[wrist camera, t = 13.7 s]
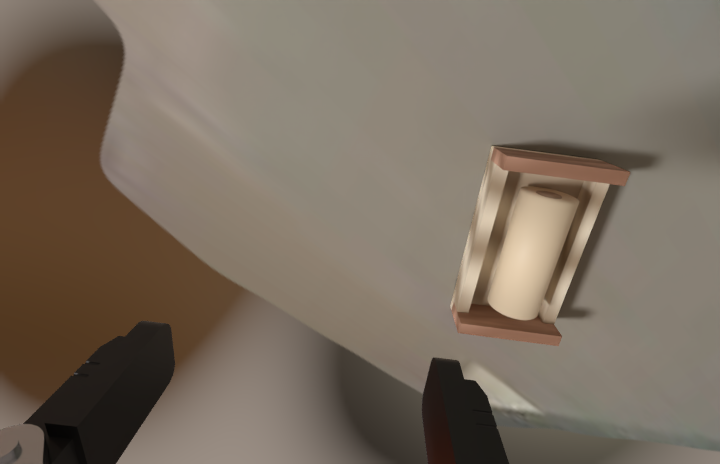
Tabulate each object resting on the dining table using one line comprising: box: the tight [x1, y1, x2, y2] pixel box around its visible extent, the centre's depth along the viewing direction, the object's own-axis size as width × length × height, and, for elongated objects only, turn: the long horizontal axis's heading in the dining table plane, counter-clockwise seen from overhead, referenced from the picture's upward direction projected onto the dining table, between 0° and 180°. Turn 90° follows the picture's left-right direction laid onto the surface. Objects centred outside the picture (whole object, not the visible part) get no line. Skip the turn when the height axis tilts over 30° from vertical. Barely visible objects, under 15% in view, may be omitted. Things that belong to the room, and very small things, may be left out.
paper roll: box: [488, 186, 579, 320], centre depth 36 cm, size 12×5×5 cm, turn 173°
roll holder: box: [450, 146, 630, 346], centre depth 37 cm, size 18×10×5 cm, turn 173°
